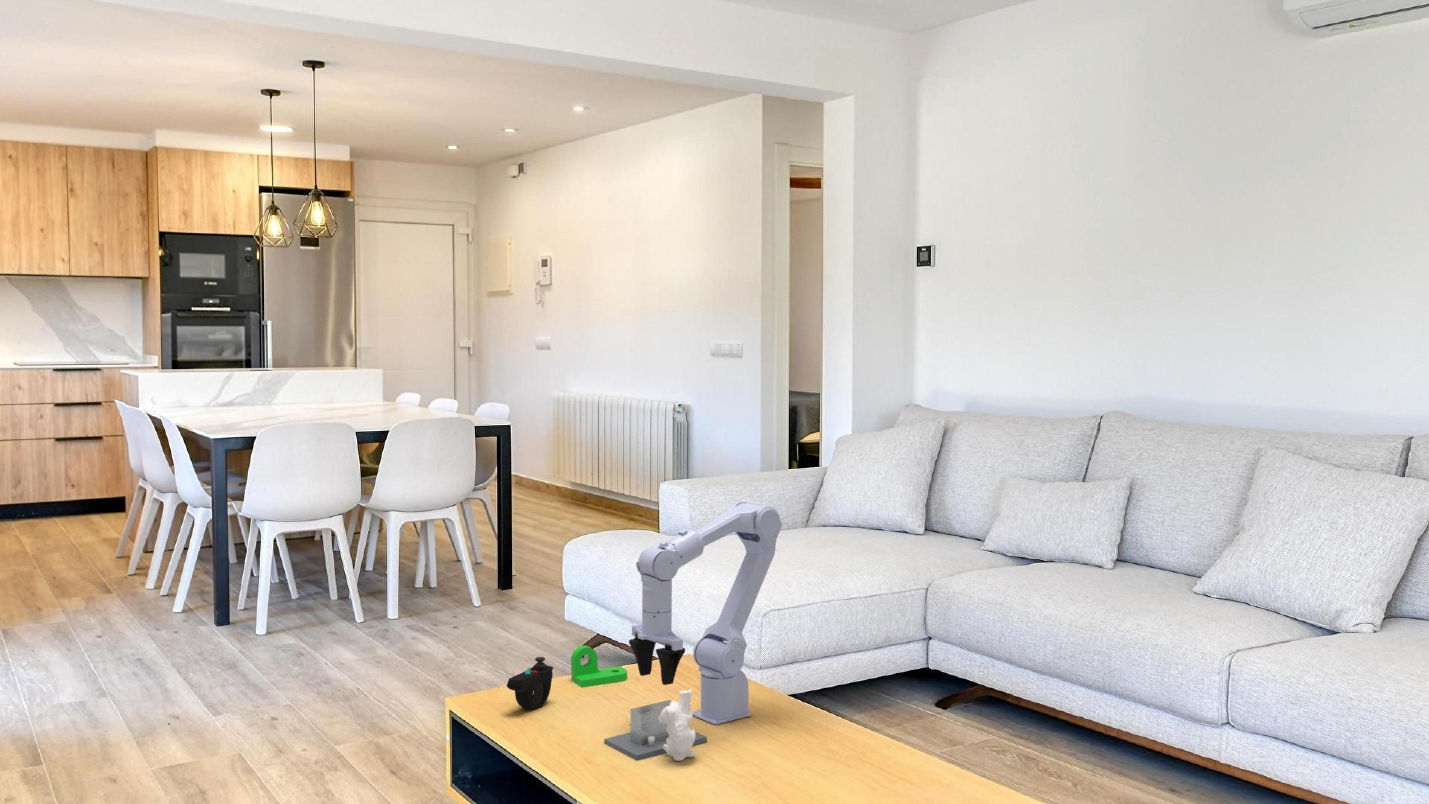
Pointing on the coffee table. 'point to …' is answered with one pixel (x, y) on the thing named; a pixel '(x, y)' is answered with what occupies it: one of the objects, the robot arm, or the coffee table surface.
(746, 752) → the coffee table surface
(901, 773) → the coffee table surface
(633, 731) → the block
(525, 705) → the controller
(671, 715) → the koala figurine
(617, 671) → the mechanical part
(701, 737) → the pin tray
